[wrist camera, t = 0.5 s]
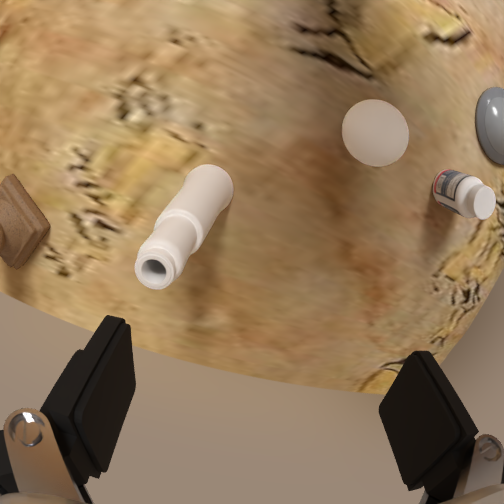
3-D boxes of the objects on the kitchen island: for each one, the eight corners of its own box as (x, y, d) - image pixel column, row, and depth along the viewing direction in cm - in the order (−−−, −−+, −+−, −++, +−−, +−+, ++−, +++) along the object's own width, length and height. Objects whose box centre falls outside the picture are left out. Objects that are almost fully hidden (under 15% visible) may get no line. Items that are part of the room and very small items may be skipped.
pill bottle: (463, 195, 36) (502, 213, 28) (438, 212, 37) (475, 233, 29) (453, 162, 34) (494, 174, 26) (426, 178, 35) (465, 193, 27)
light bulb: (379, 155, 34) (424, 168, 24) (328, 161, 35) (359, 175, 24) (372, 102, 32) (416, 96, 21) (319, 106, 32) (348, 98, 22)
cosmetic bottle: (196, 221, 37) (138, 331, 17) (174, 177, 35) (84, 243, 15) (241, 202, 37) (229, 299, 16) (221, 155, 34) (177, 195, 14)
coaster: (485, 71, 28) (488, 71, 28) (528, 116, 30) (531, 117, 29) (465, 137, 33) (468, 138, 32) (510, 177, 34) (512, 178, 34)
